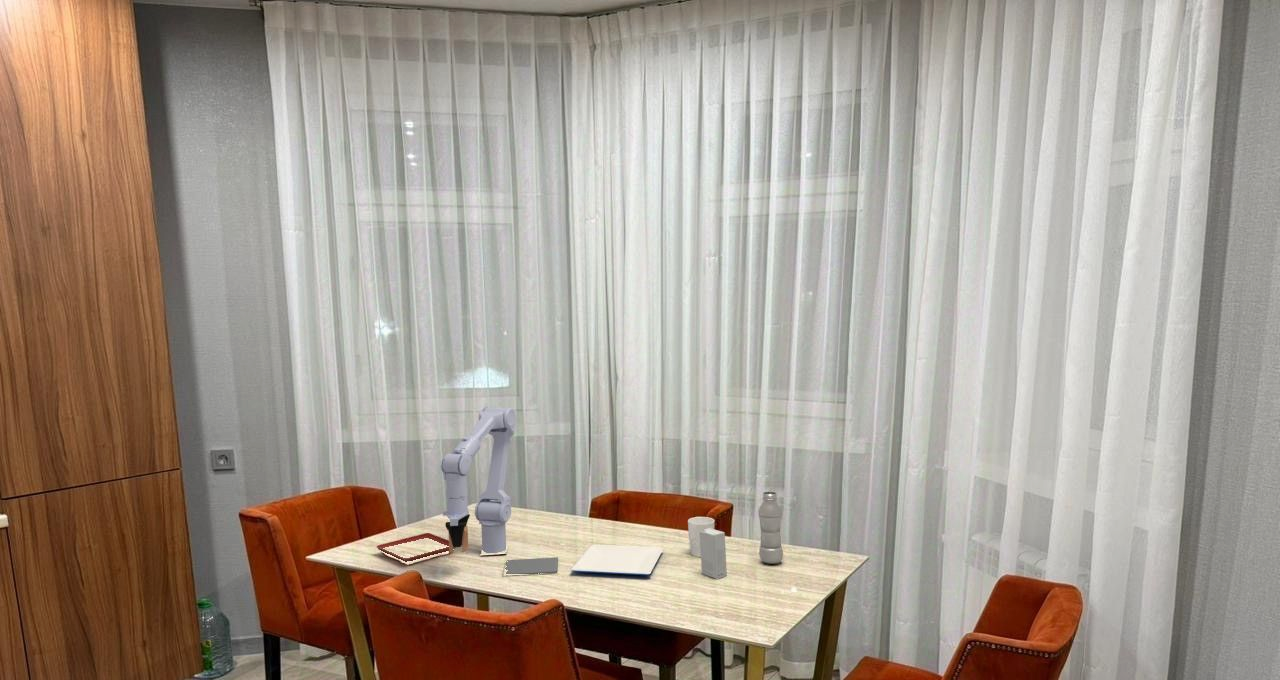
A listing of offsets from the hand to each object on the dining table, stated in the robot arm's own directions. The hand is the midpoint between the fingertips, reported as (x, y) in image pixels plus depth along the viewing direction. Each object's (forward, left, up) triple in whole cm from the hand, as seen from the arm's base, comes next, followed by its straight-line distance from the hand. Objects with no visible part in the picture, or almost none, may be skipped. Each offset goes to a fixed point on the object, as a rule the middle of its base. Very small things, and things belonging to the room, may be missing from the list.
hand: (458, 544), depth 211 cm
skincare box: (+13, +70, -8) cm, 72 cm away
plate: (0, +45, -9) cm, 46 cm away
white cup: (-5, +70, -8) cm, 71 cm away
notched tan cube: (0, 0, -2) cm, 2 cm away
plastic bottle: (+6, +88, -8) cm, 89 cm away
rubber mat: (-1, +20, -8) cm, 22 cm away
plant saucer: (-19, -15, -9) cm, 26 cm away
